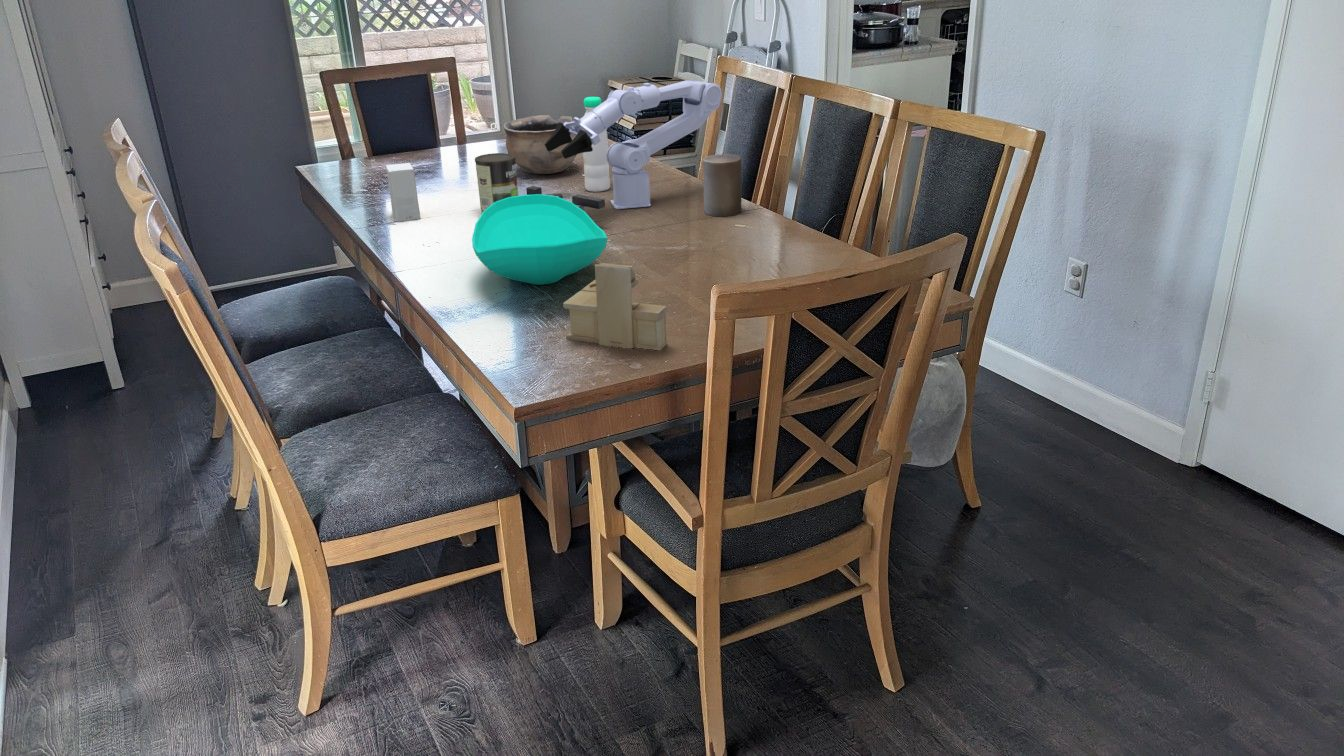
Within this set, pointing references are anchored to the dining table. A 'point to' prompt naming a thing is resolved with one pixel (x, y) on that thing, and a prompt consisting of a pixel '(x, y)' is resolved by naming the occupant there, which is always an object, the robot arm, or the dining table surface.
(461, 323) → the dining table surface
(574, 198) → the lid
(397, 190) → the small box
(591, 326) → the toy kitchen set
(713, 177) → the pillar candle
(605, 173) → the water bottle
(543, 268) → the table top decor
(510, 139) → the ceramic bowl
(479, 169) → the coffee can
